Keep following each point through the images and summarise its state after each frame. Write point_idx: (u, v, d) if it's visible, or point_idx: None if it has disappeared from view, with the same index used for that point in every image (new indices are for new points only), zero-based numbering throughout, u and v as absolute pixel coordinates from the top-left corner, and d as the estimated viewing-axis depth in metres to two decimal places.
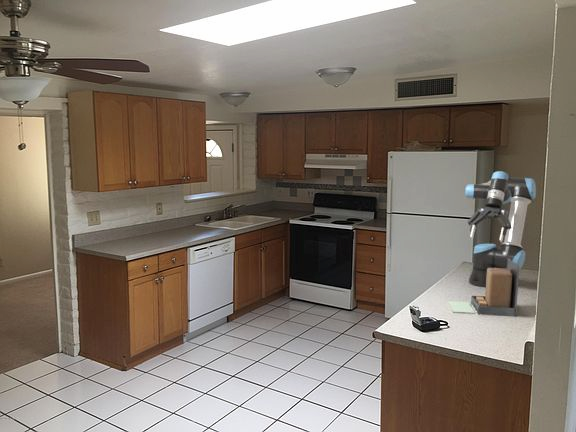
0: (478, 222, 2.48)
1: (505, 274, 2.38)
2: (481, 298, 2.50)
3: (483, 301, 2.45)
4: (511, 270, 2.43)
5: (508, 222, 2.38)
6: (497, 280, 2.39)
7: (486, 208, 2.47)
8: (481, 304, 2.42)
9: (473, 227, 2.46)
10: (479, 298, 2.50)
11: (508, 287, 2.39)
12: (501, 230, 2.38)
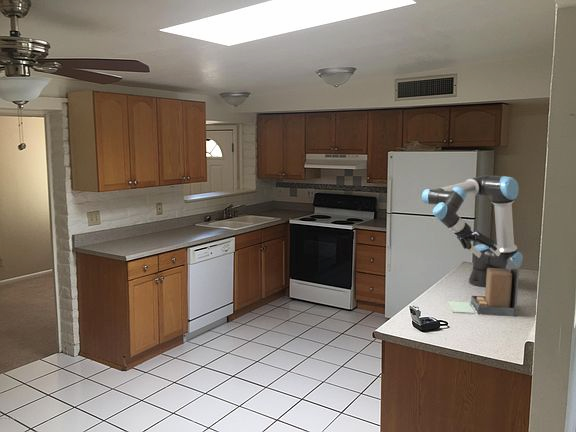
0: (470, 243, 2.51)
1: (505, 274, 2.38)
2: (482, 298, 2.49)
3: (483, 301, 2.45)
4: (511, 270, 2.43)
5: (487, 243, 2.37)
6: (497, 280, 2.39)
7: None
8: (481, 304, 2.42)
9: (472, 251, 2.52)
10: (480, 298, 2.49)
11: (508, 287, 2.39)
12: (490, 249, 2.40)
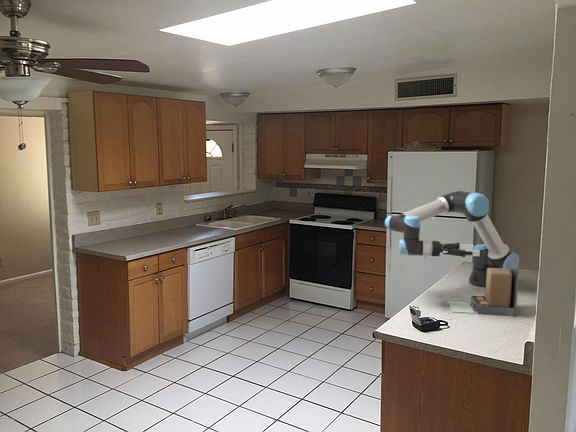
0: (455, 245, 2.50)
1: (505, 274, 2.38)
2: (481, 298, 2.49)
3: (484, 301, 2.44)
4: (511, 270, 2.43)
5: None
6: (497, 280, 2.39)
7: None
8: (482, 304, 2.42)
9: (462, 249, 2.51)
10: (479, 298, 2.49)
11: (508, 287, 2.39)
12: None
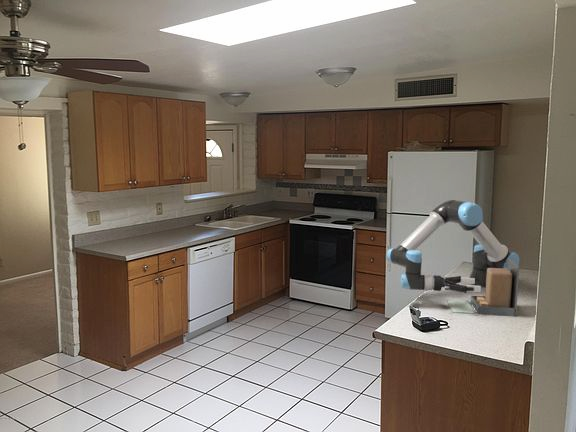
0: (456, 279, 2.52)
1: (505, 274, 2.38)
2: (482, 298, 2.49)
3: (484, 301, 2.44)
4: (511, 270, 2.43)
5: None
6: (497, 280, 2.39)
7: None
8: (482, 305, 2.42)
9: None
10: (480, 298, 2.49)
11: (508, 287, 2.39)
12: None
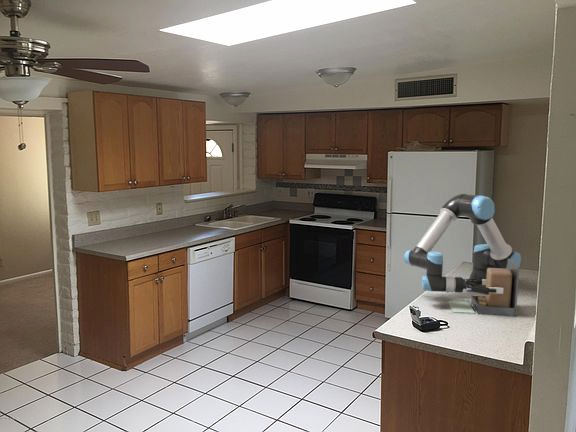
0: (477, 281, 2.51)
1: (505, 274, 2.38)
2: (482, 299, 2.49)
3: (483, 301, 2.44)
4: (511, 270, 2.43)
5: None
6: (497, 280, 2.39)
7: None
8: (480, 304, 2.42)
9: (485, 284, 2.52)
10: (480, 298, 2.49)
11: (508, 287, 2.39)
12: (491, 292, 2.39)
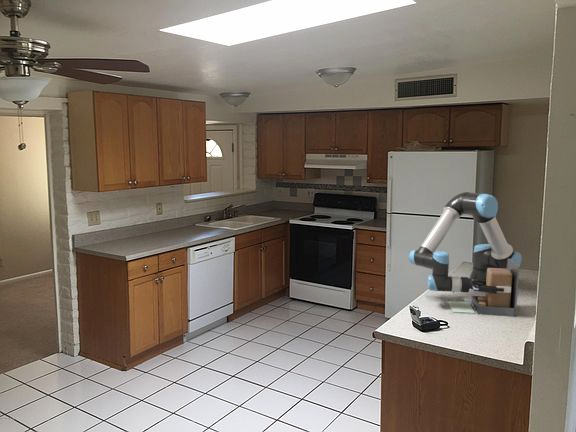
0: (485, 281, 2.49)
1: (505, 274, 2.38)
2: (482, 299, 2.49)
3: (483, 302, 2.44)
4: (511, 270, 2.43)
5: None
6: (497, 280, 2.39)
7: None
8: (480, 304, 2.42)
9: None
10: (480, 299, 2.49)
11: None
12: None
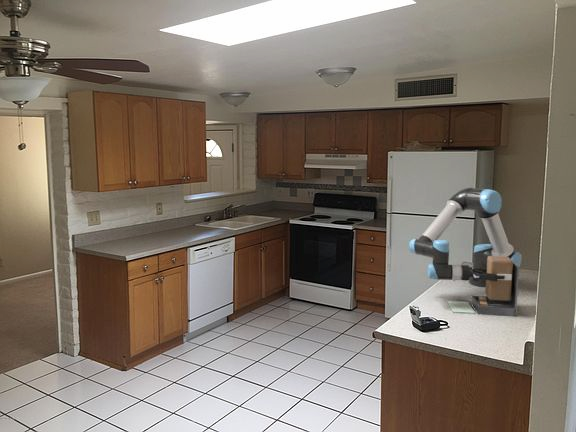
0: (486, 269, 2.48)
1: (506, 261, 2.37)
2: (483, 299, 2.49)
3: (484, 302, 2.44)
4: None
5: None
6: (497, 268, 2.38)
7: None
8: (481, 304, 2.42)
9: None
10: (481, 298, 2.49)
11: None
12: None
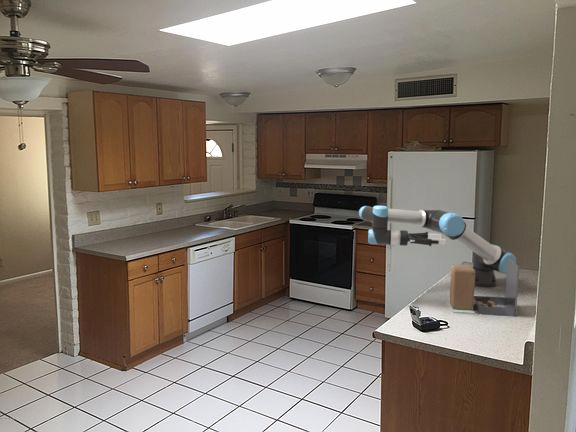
0: (423, 235, 2.54)
1: (468, 271, 2.41)
2: None
3: None
4: (511, 270, 2.43)
5: None
6: (460, 277, 2.42)
7: None
8: None
9: (430, 238, 2.55)
10: None
11: (471, 284, 2.41)
12: None
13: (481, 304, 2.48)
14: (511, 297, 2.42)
